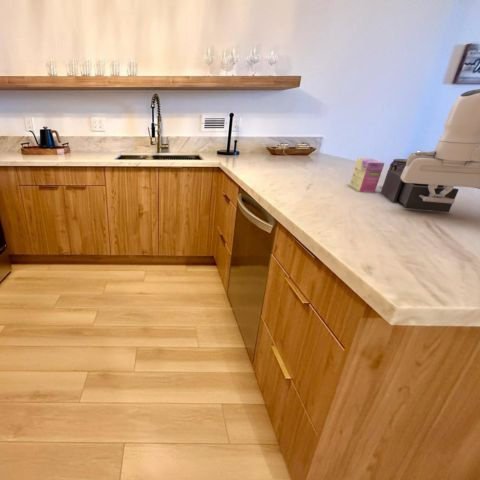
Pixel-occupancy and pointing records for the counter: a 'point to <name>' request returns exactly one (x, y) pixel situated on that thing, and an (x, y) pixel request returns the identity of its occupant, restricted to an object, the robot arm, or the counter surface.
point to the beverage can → (398, 164)
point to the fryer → (392, 185)
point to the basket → (425, 197)
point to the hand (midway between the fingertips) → (435, 199)
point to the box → (366, 174)
